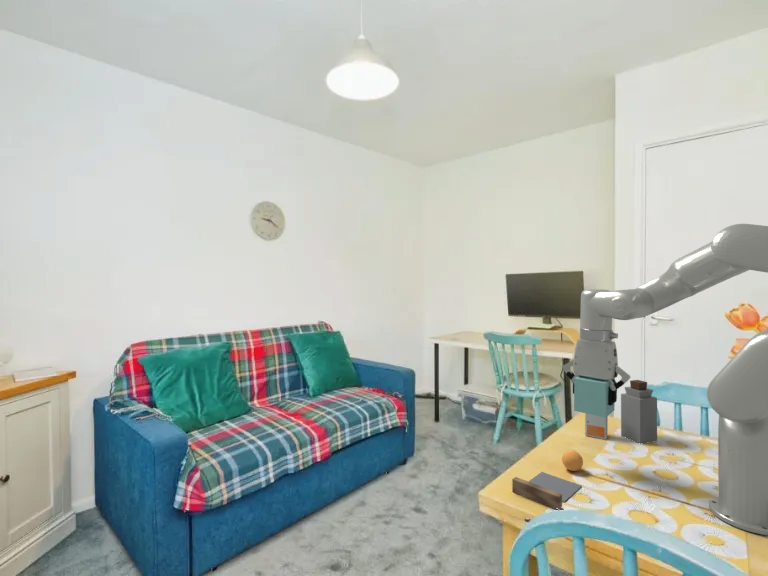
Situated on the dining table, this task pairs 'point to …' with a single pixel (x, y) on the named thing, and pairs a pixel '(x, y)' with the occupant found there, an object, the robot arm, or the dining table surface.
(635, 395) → the perfume bottle
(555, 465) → the dining table surface
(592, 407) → the teal tissue box
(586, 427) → the skincare box
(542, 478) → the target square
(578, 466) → the ball
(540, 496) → the stopper rail
